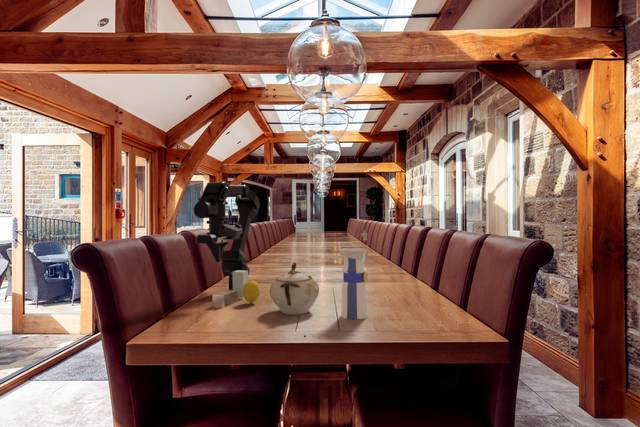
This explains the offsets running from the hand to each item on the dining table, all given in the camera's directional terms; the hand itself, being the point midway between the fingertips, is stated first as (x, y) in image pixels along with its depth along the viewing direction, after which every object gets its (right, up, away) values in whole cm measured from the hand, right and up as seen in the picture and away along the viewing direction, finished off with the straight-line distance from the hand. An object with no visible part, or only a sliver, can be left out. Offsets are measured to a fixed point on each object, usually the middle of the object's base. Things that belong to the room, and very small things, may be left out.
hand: (218, 262), depth 154 cm
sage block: (+8, -13, +1) cm, 15 cm away
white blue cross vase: (+46, -13, -28) cm, 55 cm away
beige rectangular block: (+3, -11, -14) cm, 18 cm away
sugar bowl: (+28, -13, -21) cm, 37 cm away
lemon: (+13, -13, -9) cm, 21 cm away
